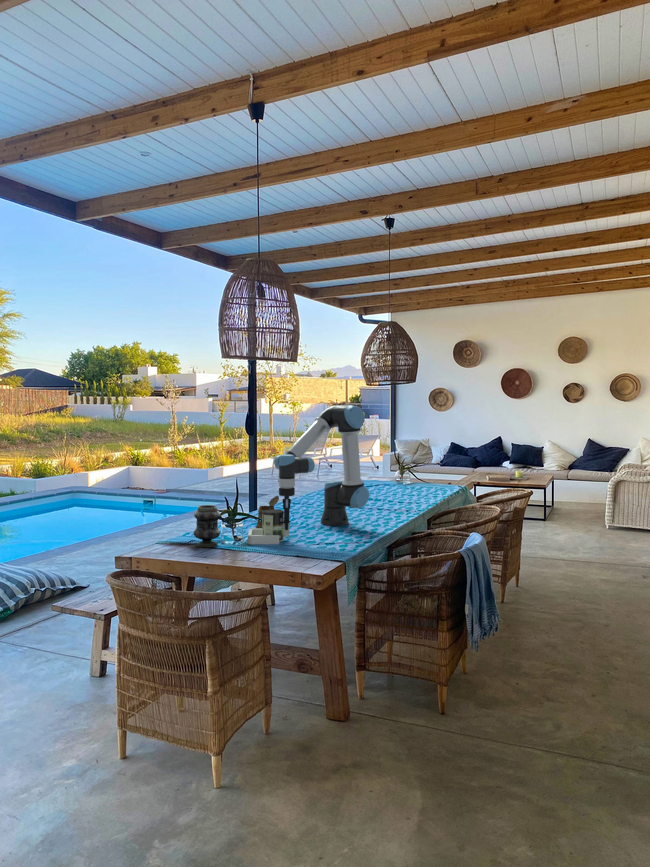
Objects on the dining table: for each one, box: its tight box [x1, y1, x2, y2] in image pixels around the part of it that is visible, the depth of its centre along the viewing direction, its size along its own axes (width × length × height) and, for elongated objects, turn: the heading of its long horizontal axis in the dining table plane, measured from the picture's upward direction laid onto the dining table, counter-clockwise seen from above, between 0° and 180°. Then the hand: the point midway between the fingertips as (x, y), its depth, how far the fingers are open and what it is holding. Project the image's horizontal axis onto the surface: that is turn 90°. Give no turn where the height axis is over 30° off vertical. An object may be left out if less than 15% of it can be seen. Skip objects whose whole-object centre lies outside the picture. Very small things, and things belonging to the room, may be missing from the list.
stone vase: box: [193, 504, 221, 548], centre depth 283 cm, size 12×12×18 cm
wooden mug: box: [255, 495, 280, 529], centre depth 321 cm, size 9×14×18 cm, turn 50°
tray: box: [247, 528, 280, 545], centre depth 295 cm, size 14×16×4 cm
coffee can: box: [262, 508, 284, 543], centre depth 295 cm, size 10×10×14 cm
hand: (286, 536), depth 295 cm, fingers closed
